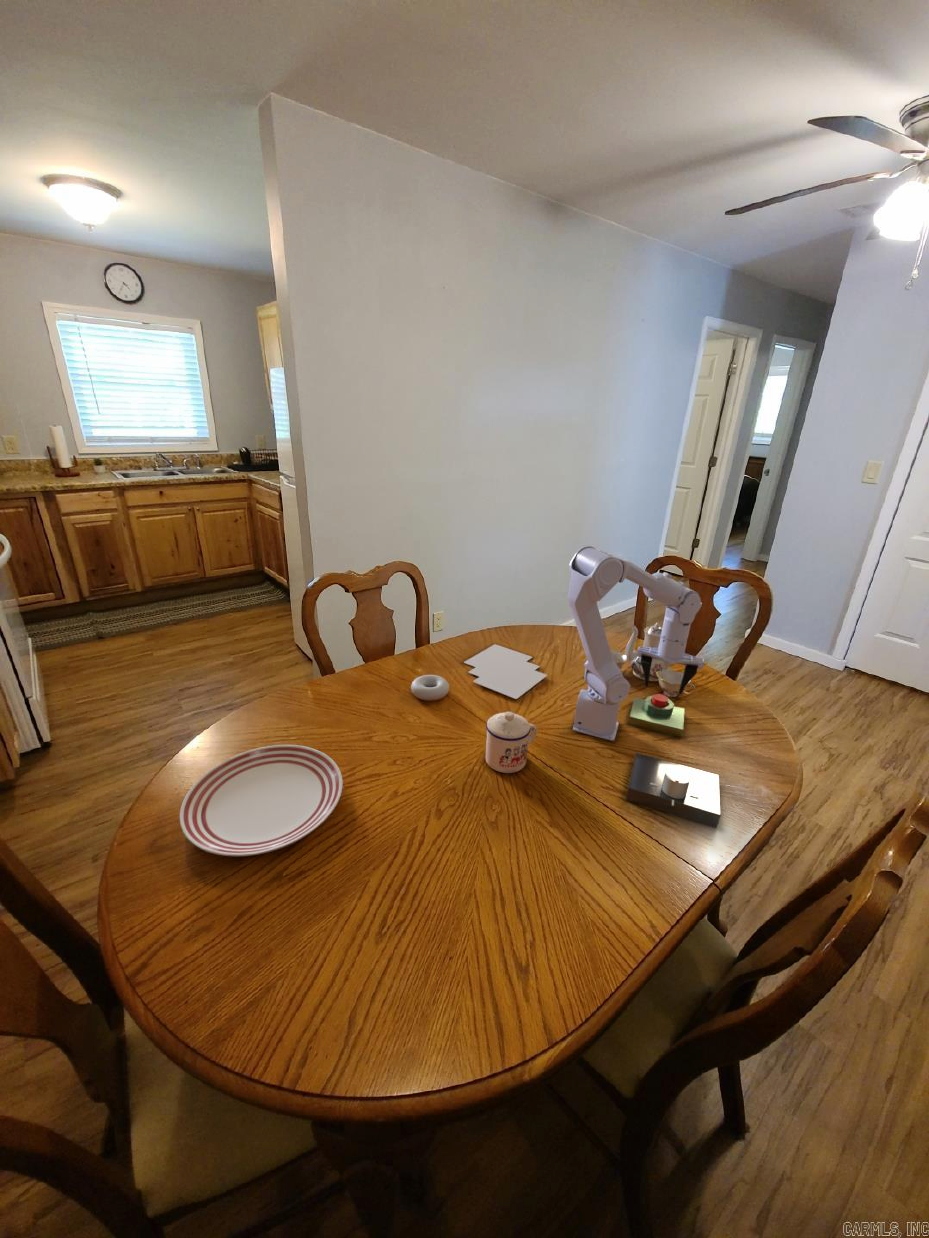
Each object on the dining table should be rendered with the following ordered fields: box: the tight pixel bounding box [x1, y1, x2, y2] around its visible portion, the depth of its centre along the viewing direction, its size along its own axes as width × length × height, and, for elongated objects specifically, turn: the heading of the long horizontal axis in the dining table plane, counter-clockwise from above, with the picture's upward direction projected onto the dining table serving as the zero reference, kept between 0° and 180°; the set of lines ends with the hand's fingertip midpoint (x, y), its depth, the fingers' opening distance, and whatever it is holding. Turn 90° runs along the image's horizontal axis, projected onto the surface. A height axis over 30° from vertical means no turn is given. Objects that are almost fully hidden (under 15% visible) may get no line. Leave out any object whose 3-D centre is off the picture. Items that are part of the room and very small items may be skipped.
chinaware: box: [611, 622, 696, 698], centre depth 139 cm, size 28×17×17 cm, turn 55°
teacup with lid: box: [485, 711, 538, 774], centre depth 104 cm, size 12×9×12 cm
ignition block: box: [627, 694, 686, 738], centre depth 122 cm, size 12×10×4 cm
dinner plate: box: [179, 744, 344, 857], centre depth 91 cm, size 28×27×3 cm
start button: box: [652, 693, 669, 707], centre depth 122 cm, size 4×4×2 cm
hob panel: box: [625, 752, 722, 829], centre depth 97 cm, size 16×13×3 cm
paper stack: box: [463, 643, 548, 700], centre depth 143 cm, size 23×25×1 cm
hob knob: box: [662, 768, 690, 799], centre depth 94 cm, size 4×4×4 cm
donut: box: [410, 674, 450, 702], centre depth 130 cm, size 10×4×10 cm
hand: (663, 688), depth 120 cm, fingers open, 7 cm apart
